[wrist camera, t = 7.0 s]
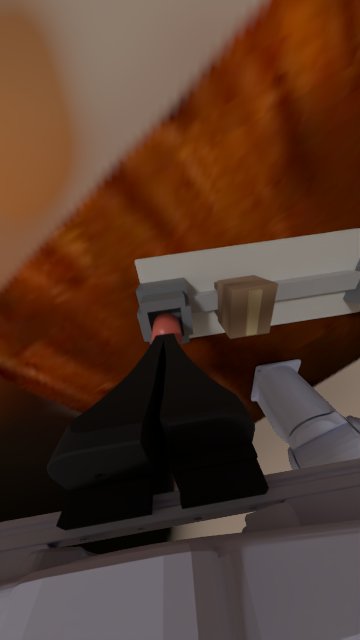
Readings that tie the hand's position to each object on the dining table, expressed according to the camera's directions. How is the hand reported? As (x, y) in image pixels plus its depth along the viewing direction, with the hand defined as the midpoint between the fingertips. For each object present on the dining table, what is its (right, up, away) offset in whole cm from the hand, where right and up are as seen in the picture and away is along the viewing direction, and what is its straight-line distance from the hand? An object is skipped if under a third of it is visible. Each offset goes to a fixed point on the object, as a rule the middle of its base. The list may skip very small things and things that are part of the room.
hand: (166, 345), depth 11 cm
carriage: (+7, +5, +7) cm, 11 cm away
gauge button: (0, +1, +3) cm, 3 cm away
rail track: (+12, +6, +9) cm, 16 cm away
